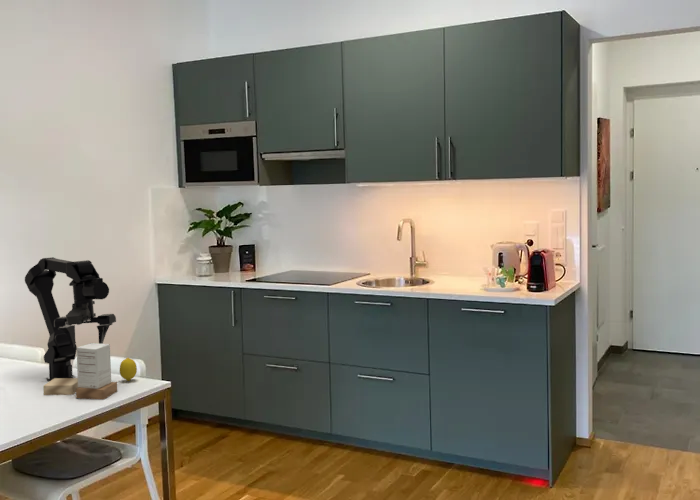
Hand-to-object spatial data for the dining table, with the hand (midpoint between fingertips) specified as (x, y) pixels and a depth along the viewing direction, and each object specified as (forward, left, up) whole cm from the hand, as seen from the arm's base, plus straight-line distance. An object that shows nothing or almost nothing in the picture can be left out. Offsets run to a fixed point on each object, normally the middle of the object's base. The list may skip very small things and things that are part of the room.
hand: (87, 346), depth 234 cm
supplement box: (+7, -10, -10) cm, 16 cm away
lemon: (+10, +7, -13) cm, 18 cm away
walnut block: (+8, -10, -13) cm, 18 cm away
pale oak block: (-5, -7, -13) cm, 15 cm away
